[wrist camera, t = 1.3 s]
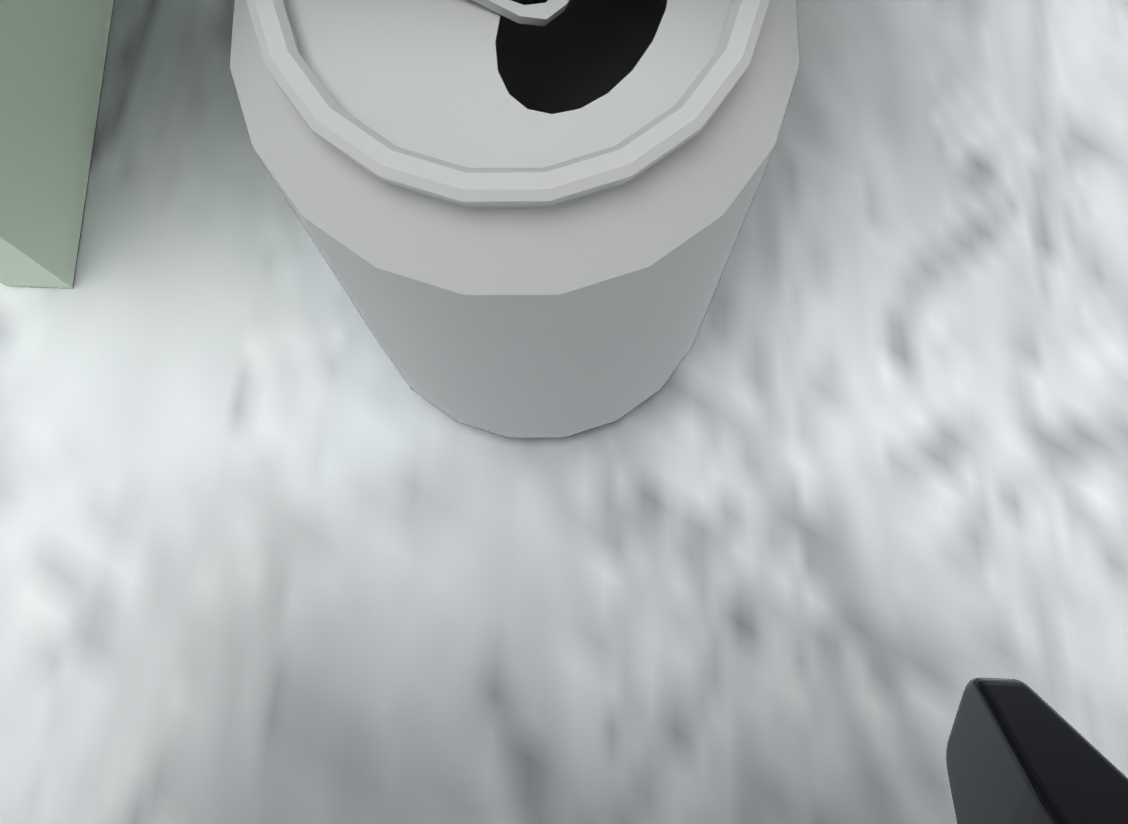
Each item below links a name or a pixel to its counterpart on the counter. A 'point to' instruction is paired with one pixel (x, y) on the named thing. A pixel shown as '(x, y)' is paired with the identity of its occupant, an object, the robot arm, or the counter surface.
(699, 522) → the counter surface
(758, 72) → the can
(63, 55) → the shelf
